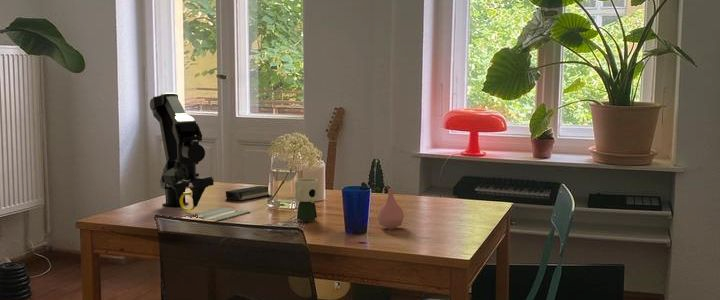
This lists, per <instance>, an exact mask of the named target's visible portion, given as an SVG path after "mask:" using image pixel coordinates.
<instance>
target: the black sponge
mask: <svg viewBox="0 0 720 300" xmlns="http://www.w3.org/2000/svg"><path fill="white" fill-rule="evenodd" d="M268 186H269V185H263V186H262V185H258V186H256V185H255V186H249V187H243V188H237V189H232V190H225V192H224V193H225V198H226V199H227V200H231V199H232V201H244V200H250V199H254V198H255V199H256V198H259V197H264V196H269V195H268Z"/></svg>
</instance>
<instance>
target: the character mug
mask: <svg viewBox="0 0 720 300" xmlns="http://www.w3.org/2000/svg"><path fill="white" fill-rule="evenodd" d="M318 189H319V180H318V178H312V177H302V178H296V179H295V180H294V195H295V197H294V198H295V201H297V202H299V203H298V206H297V213H296V220H298V221H302V222H304V221H306V222H313V221H314V222H315V221H317V220H318V217H317V208H316V203H315V202H316V201H318V199H319V194H318Z"/></svg>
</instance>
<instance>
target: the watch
mask: <svg viewBox="0 0 720 300" xmlns="http://www.w3.org/2000/svg"><path fill="white" fill-rule="evenodd" d="M184 195H185V196H190V197H191V199H192V200H193V197H192V191H185V192H183V194H182V195H181V197H180V205H181V206H180V207H181V208H182V210H184V211H193V210H195V209H196V207H194V205H193V204H192V207H191V208H187V207H186V205H184V204H183V197H184Z"/></svg>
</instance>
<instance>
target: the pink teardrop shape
mask: <svg viewBox="0 0 720 300" xmlns="http://www.w3.org/2000/svg"><path fill="white" fill-rule="evenodd" d="M404 218H405V217H404V210H403V209H402V207H401V206H400V205H399V204H398V203H397V200H396V199H395V197H394V188H393V187H392V188H391V187H390V188H387V198H386V200H385V202H384V204H382V206H381V207H380V208H379V209H378V214H377V220H378V223H379V225H380V226H382V227H384V228H386V229H387V230H395V228H397V227H400V226H402V224H403V221H404Z"/></svg>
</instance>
